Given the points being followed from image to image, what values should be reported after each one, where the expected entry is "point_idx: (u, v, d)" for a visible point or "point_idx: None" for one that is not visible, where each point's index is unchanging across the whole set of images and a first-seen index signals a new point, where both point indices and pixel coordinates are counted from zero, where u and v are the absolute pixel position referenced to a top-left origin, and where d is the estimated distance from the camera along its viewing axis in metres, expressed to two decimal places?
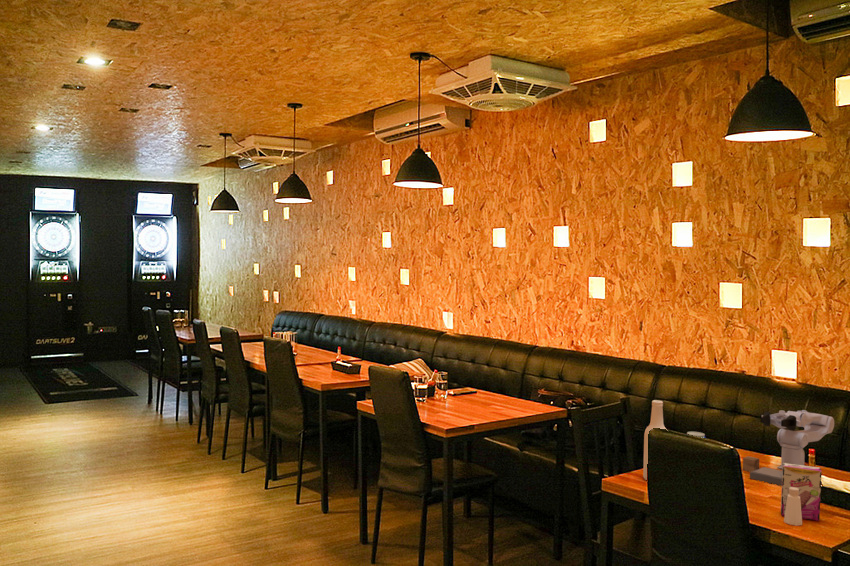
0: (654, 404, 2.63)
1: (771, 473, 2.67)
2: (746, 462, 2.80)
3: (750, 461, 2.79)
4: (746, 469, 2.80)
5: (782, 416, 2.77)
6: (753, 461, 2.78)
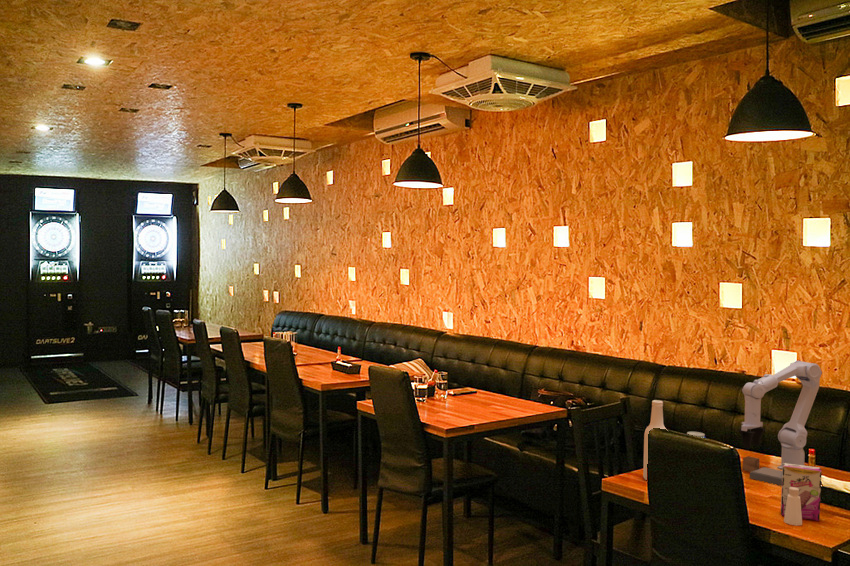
0: (654, 404, 2.63)
1: (771, 473, 2.67)
2: (746, 462, 2.80)
3: (750, 461, 2.79)
4: (746, 469, 2.80)
5: None
6: (753, 461, 2.78)
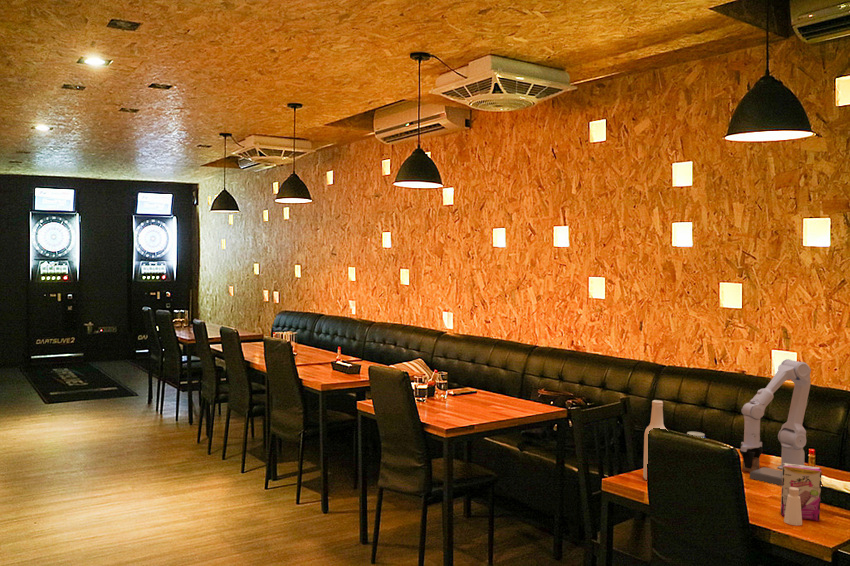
0: (654, 404, 2.63)
1: (771, 473, 2.67)
2: None
3: None
4: (746, 469, 2.80)
5: None
6: (753, 461, 2.78)
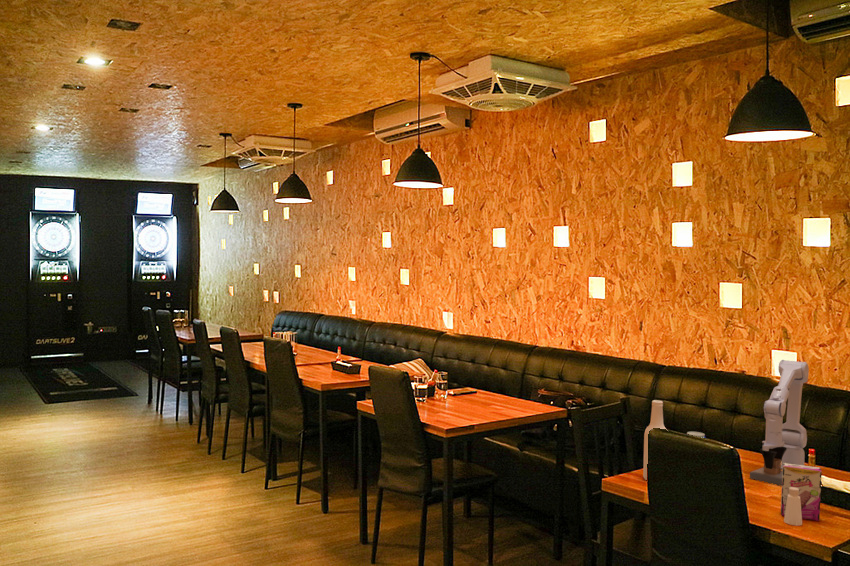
0: (654, 404, 2.63)
1: None
2: None
3: None
4: (767, 471, 2.68)
5: None
6: (775, 462, 2.66)
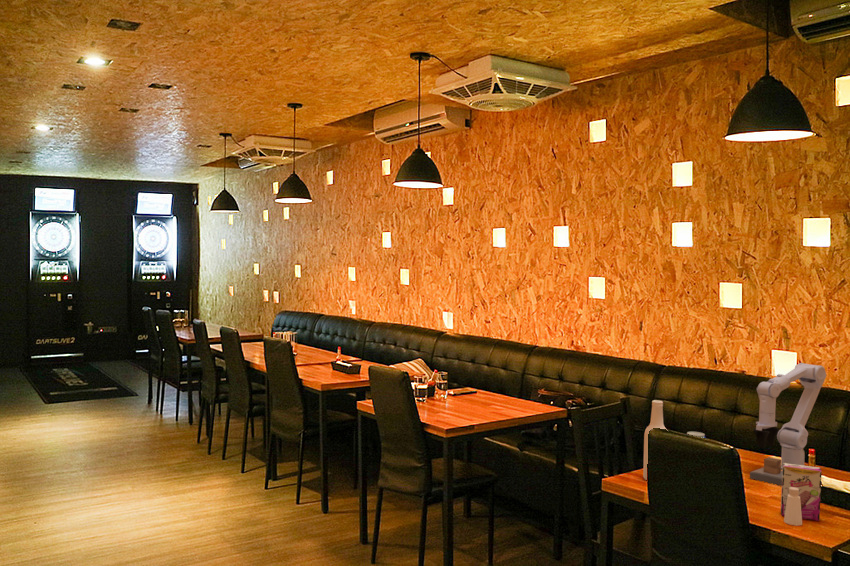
0: (654, 404, 2.63)
1: None
2: (767, 463, 2.68)
3: (771, 462, 2.66)
4: (767, 471, 2.68)
5: None
6: (775, 462, 2.66)
